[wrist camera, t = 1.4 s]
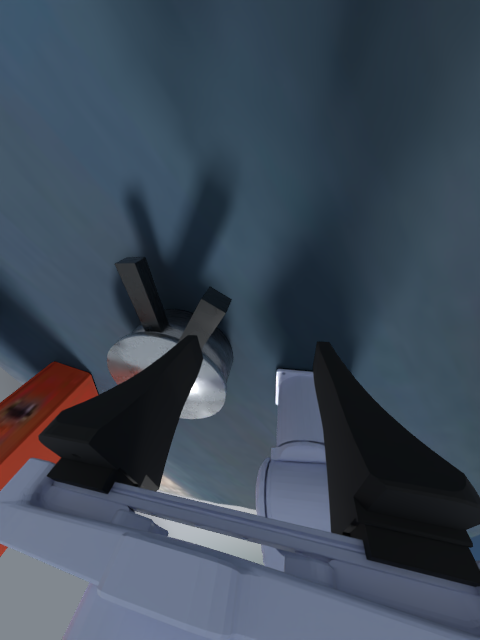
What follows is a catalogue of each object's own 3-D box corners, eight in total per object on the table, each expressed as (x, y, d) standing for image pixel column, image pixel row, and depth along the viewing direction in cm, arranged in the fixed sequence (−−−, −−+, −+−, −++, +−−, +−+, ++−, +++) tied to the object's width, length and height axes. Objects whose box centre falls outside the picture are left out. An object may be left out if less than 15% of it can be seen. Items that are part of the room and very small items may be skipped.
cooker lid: (199, 423, 31) (193, 440, 29) (106, 379, 28) (93, 395, 26) (295, 334, 18) (296, 355, 16) (138, 238, 15) (115, 248, 13)
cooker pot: (239, 396, 33) (232, 426, 29) (163, 387, 36) (148, 414, 32) (217, 245, 19) (199, 263, 15) (97, 250, 22) (55, 266, 18)
